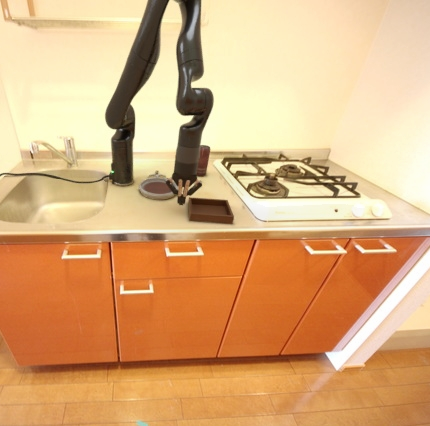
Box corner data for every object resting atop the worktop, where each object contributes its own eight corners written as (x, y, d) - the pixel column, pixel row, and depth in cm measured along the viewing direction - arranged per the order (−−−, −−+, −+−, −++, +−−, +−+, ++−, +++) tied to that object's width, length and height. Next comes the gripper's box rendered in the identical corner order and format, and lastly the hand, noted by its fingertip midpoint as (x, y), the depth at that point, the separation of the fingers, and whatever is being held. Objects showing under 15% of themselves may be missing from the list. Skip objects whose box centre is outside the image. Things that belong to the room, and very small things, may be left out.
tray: (189, 220, 80) (190, 213, 78) (187, 203, 89) (188, 197, 88) (232, 224, 78) (234, 216, 77) (225, 206, 88) (227, 199, 86)
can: (193, 176, 111) (197, 148, 103) (193, 171, 116) (197, 144, 109) (206, 177, 110) (211, 149, 103) (205, 172, 115) (210, 145, 108)
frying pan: (174, 168, 113) (180, 194, 89) (173, 174, 115) (180, 201, 91) (139, 168, 113) (137, 193, 89) (139, 173, 115) (137, 200, 91)
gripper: (206, 155, 75) (198, 200, 85) (166, 153, 77) (163, 197, 86) (209, 164, 69) (200, 211, 79) (166, 161, 70) (162, 208, 80)
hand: (180, 204), depth 83 cm, fingers closed
